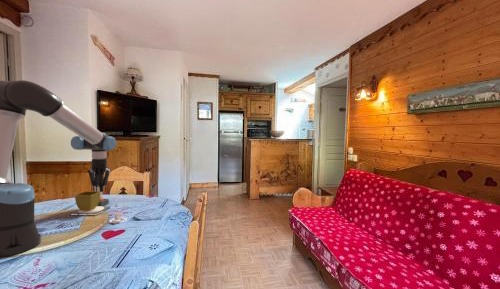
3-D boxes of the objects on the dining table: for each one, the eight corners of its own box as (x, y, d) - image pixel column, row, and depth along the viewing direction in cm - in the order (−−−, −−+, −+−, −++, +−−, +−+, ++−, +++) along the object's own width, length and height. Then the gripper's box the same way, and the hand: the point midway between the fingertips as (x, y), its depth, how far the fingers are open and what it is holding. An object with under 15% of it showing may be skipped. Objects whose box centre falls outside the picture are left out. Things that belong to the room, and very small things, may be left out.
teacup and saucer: (117, 225, 111) (117, 217, 111) (103, 223, 112) (103, 215, 112) (130, 219, 119) (130, 211, 119) (117, 217, 121) (117, 210, 121)
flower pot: (90, 212, 124) (90, 195, 124) (74, 211, 124) (74, 195, 124) (101, 207, 133) (101, 191, 133) (85, 206, 133) (85, 191, 133)
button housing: (101, 207, 137) (101, 202, 137) (89, 206, 137) (89, 201, 136) (108, 203, 144) (108, 198, 144) (97, 203, 144) (97, 198, 143)
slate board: (95, 215, 122) (95, 213, 122) (70, 215, 122) (70, 213, 122) (110, 208, 135) (110, 206, 135) (87, 207, 135) (87, 205, 135)
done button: (100, 203, 138) (100, 198, 138) (93, 203, 138) (93, 198, 138) (104, 201, 142) (104, 196, 142) (98, 201, 142) (98, 196, 142)
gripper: (113, 157, 143) (113, 195, 144) (92, 157, 143) (92, 195, 144) (106, 159, 135) (106, 199, 136) (83, 158, 135) (84, 198, 136)
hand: (99, 197), depth 140 cm, fingers closed
